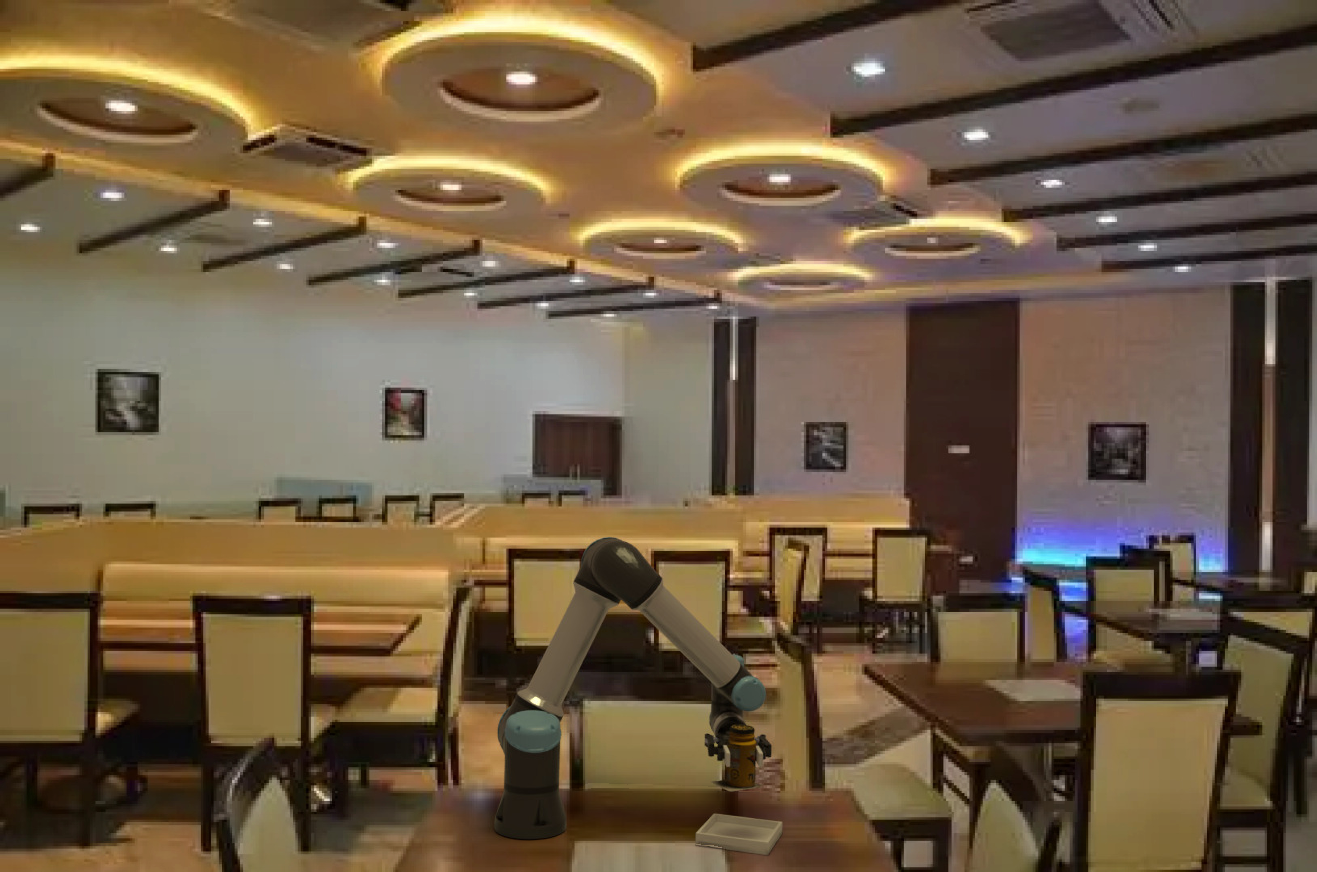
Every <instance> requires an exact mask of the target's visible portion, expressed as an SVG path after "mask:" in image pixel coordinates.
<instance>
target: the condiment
mask: <svg viewBox="0 0 1317 872" xmlns="http://www.w3.org/2000/svg"><path fill="white" fill-rule="evenodd" d="M729 730H730V733H729V736H730V737H729V739H728V741H727V747H728V749H729V752H730V767H726V774H725V775H726V776H725V777H726V779H721V780H713V781H711V783H712V784H713V785H715V786H717V787H718V788H720V789H723V790H726V791H728V792H735V791H736V792H737V791H742V790H751V789H758V788H762V787H764V785H763V784H760V783H756V771H757V770H756V766H757V765H756V764H757V762H756V741H755V739H754V738H756V735H755V732H756V729H755V727H754V726H751V725H749V724H746V725H732V726H731V727H730V729H729Z"/></svg>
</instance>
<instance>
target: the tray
mask: <svg viewBox="0 0 1317 872" xmlns="http://www.w3.org/2000/svg"><path fill="white" fill-rule="evenodd" d="M782 835H783V821H778V820H777V821H776V820H770V819H762V818H753V817H747V816H737V815H729V814H721V813H713V814H712V815H711V816H710V817H709V819H707V821H706V822H704V823H703V825H702V826H701V827H700V828H699V829H698V830H697V831H696V832H695V845H696V844H701V845H714V846H718V847H722V848H725V849H726V850H727V851H731V852H732V851H735V852H742V853H748V854H749V853H750V854H756V855H763V856H768V855H769V854H770V853H771V851H772V850H773V848H774V847H775V845H776V844H777V842H778V841H779V839H780V837H781V836H782ZM725 849H724V850H725ZM726 850H725V851H726Z"/></svg>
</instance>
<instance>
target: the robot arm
mask: <svg viewBox="0 0 1317 872" xmlns="http://www.w3.org/2000/svg"><path fill="white" fill-rule="evenodd" d="M580 562H581V563H580V567H579V569H578V571H577V574H576V575H575V578H574V580H573V582H572V583H573V587H574V591H575V592H574V595H573V597H572V598H571V601H570V602H569V604H568V607H566V610H565V613H564V614H563V616H562V619H561V620H560V622H559V624H558V626H557V628H556V631H555V633H554V634H553V636H552V638H551V640H550V642H549V644H548V646H547V648H546V650H545V652H544V654H543V656H542V658H541V659H540V662H539V664H538V667H537V669H536V670H535V673H534V674H533V676H532V678H531V680H530V682H529V683H528V685H527V687H526V688H524V689H521V690H519V691H517V693H516V695H515V697H514V699H513V701H512V703H511V705H510V706H509V707H508V708H507V709H506V710H505V711H504V712H503V713H502V715H501V717H500V719H499V720H498V724H497V740H498V742H499V746H500V748H501V749H502V752H503V755H504V769H503V771H504V773H503V774H504V776H503V777H504V778H503V781H504V782H503V792H502V796H501V798H500V802H499V803H498V807H497V811H496V813H495V816H494V823H493V825H494V831H495V832H496V833H498V834H499V835H501V836H503V837H506V838H510V839H511V838H512V839H518V840H540V839H545V838H552V837H555V836H558V835H560V834H563V832H565V831H566V829H567V815H566V811H565V807H564V804H563V801H562V797H561V794H560V763H561V739H562V729H561V722H562V720H563V717H564V716H565V713H564V710H563V705H562V704H563V702H564V700H565V698H566V696H567V694H568V692H569V690H570V689H571V686H572V684H573V683H574V680H575V678H576V676H577V674H578V673H579V671H580V668H581V666H582V664H583V661H584V660H585V658H586V656H587V654H588V652H589V650H590V648H591V646H592V644H593V642H594V640H595V638H596V636H597V634H598V633H599V631H600V628H601V626H602V623H603V622H604V620H605V618H606V615H607V614H608V612H609V610H610V609H612V608H615V607H618V606H619V604H620V603H621V601H622V602H623V603H624V604H626V606H627V607H628V608H630V610H632V611H639V612H640V614H642V615H643V616H644V617H645V618H646V619H647V620H648V622H650V623H651V624H652V625H653V626H654V627H655V628H656V629H657V631H659V632H660V633H661V634H662V636H664V637H665V638H667V640H668V641H669V642H670V643H671V644H672V645H673V646H674V647H676V648H677V649H678V651H679V652H681V654H683V656H684V657H686V659H687V660H689V661H690V662H691V664H692V665H693V666H695V668H696V669H698V670H699V672H701V673H702V675H704V677H706V678H707V679H708V680H709V682H711V694H710V695H711V697H710V698H711V701H710V713H709V716H708V717H709V719H708V720H709V721H708V722H709V726H710V730H711V732H713V734H710V733H704V747H706V748H707V756H708V757H710V758H713V757H715V755H716V760H717V762H724V764H725V766H726V768H727V767H730V752H729V749H728V747H727V741H728V739H729V737H730V736H729V733H730V730H729V729H730V727H731V726H732V725H747V723H746V721H745V720H744V712H747V713H748V712H751V713H752V712H755V711H758V710H759V708H761V707H762V706H763V704H764V703H765V700H766V697H767V691H766V687H765V685H764V684H763V682H761V680H760V679H759V678H758V677H757V676H754V675H753V674H752V673H751V672H750V671H749V670H748V669H747V668H746V667H745V662H744V661H745V660H744V658H743V657H742V656H741V655H738V654H732V653H731V652H730V651H729V650H728V649H727V648H726V647H725V646H724V645H723V644H722V643H721V642H720V641H719V640H718V639H717V638H716V637H715V636H714V635H713V634H712V633H711V632H710V631H709V630H708V629H707V628H706V627H705V626H704V625H703V623H701V622H700V621H699V620H698V619H697V618H696V616H695V615H693V614H692V613H691V612H690V610H688V609H687V608H686V607H685V605H683V604H682V603H681V602H680V601H679V600H678V599H677V598H676V597H675V596H674V595H673V594H672V593H671V592H670V591H669V589H667V588H666V587H665V585H664V579H663V577H662V576H661V575H660V574H659V572H657V571H656V570H655V569H654V567H652V565H651V564H650V563H649V562H648V560H647V559H646V558H645V556H644V555H643V554H642V552H640V550H639V549H638V548H637V547H636V546H634V545H633V544H632V543H630V542H628V541H625V540H622V539H620V538H618V537H615V536H614V537H611V536H605V537H602V538H599V539H596V540H594V541H593V542H591V543H590V544H589V545H588V546H587V547H586V548H585V550H584V552H583V554H582V558H581V561H580ZM756 736H757V737H755V738H754V739H755V741H756V764H757V765H758V768H763V767H764V760H766V758H772V753H773V752H772V748H773V747H772V746H773V745H772V744H771V743H770V741H769V740H768V739H767V735H766V734H763V733H761V734H760V735H756ZM715 744H716V745H717V746H716V745H715Z"/></svg>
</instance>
